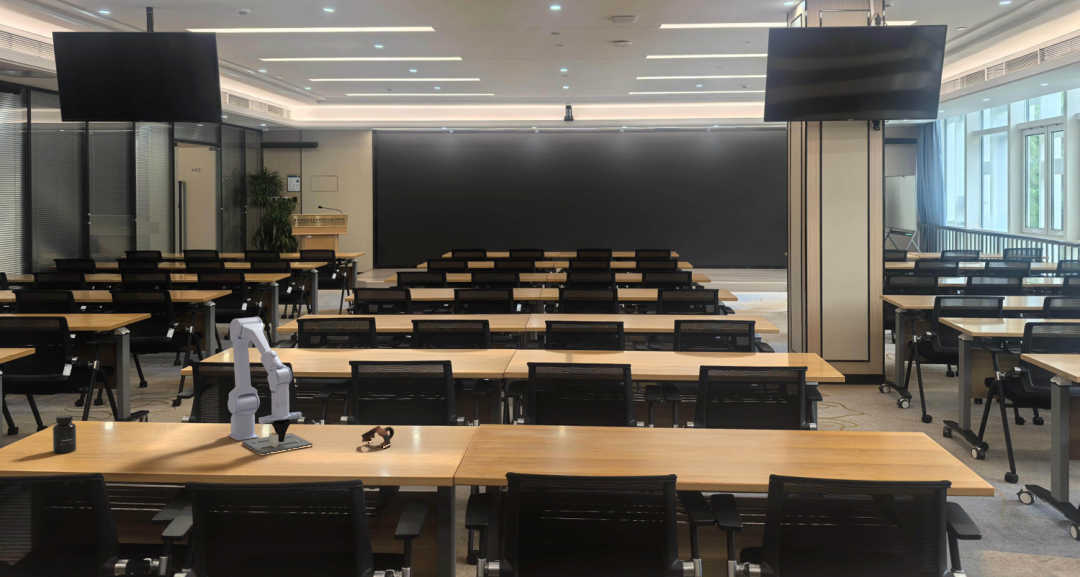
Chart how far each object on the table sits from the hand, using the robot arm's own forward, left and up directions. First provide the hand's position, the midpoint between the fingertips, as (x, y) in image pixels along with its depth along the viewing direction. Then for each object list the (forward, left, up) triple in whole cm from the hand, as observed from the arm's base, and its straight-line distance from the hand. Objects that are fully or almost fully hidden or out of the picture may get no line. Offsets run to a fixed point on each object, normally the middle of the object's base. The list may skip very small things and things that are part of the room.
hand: (280, 441), depth 283 cm
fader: (0, -2, -1) cm, 3 cm away
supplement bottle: (-41, -59, -3) cm, 72 cm away
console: (-4, 0, -2) cm, 5 cm away
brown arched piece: (+18, +29, -3) cm, 34 cm away
